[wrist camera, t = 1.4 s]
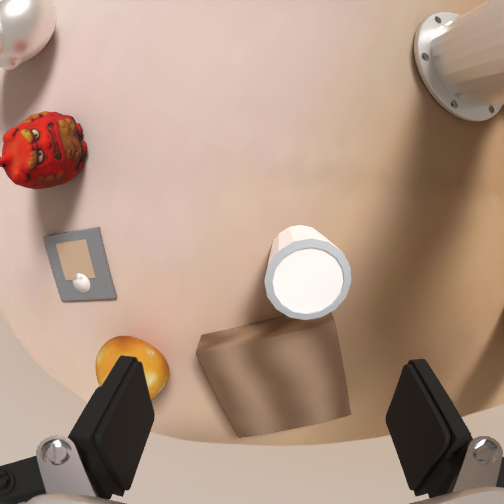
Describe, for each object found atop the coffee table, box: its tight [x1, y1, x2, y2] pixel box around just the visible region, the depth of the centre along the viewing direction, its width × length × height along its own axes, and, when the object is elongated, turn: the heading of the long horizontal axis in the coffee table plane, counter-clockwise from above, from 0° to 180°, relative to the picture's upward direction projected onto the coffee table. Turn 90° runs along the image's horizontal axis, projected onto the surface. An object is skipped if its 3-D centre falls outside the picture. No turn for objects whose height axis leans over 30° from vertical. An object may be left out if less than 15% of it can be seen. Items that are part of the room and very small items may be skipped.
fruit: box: [96, 336, 169, 401], centre depth 32 cm, size 8×8×8 cm
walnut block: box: [196, 312, 351, 438], centre depth 34 cm, size 14×14×4 cm
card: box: [43, 227, 117, 301], centre depth 32 cm, size 8×8×1 cm
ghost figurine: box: [0, 0, 56, 70], centre depth 19 cm, size 9×10×10 cm
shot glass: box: [264, 225, 351, 320], centre depth 28 cm, size 7×7×7 cm
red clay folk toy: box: [0, 112, 87, 189], centre depth 21 cm, size 8×7×15 cm
